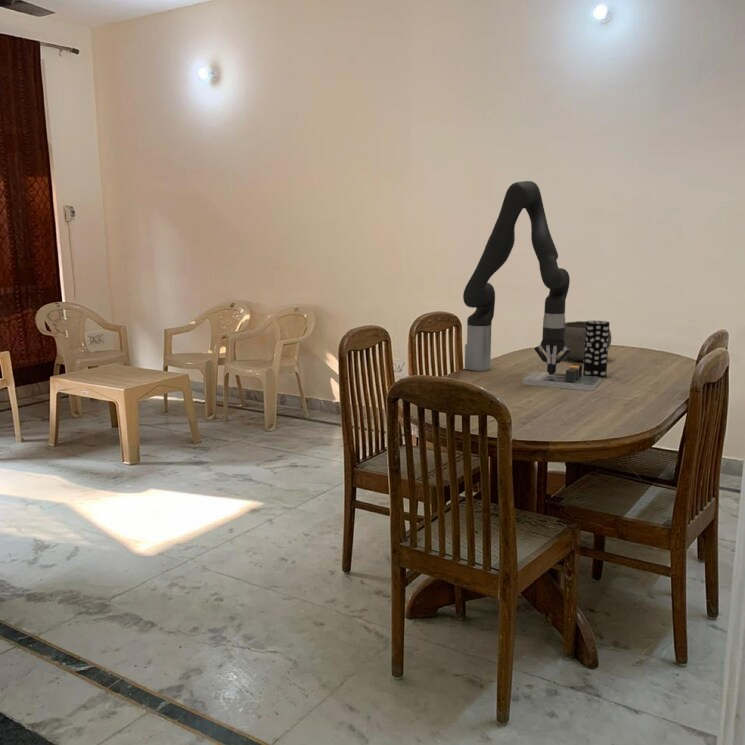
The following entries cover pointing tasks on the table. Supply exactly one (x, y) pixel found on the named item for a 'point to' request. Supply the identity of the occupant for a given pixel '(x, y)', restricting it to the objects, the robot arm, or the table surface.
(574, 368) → the block
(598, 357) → the spotted tube
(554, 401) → the table surface
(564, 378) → the panel
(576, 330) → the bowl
